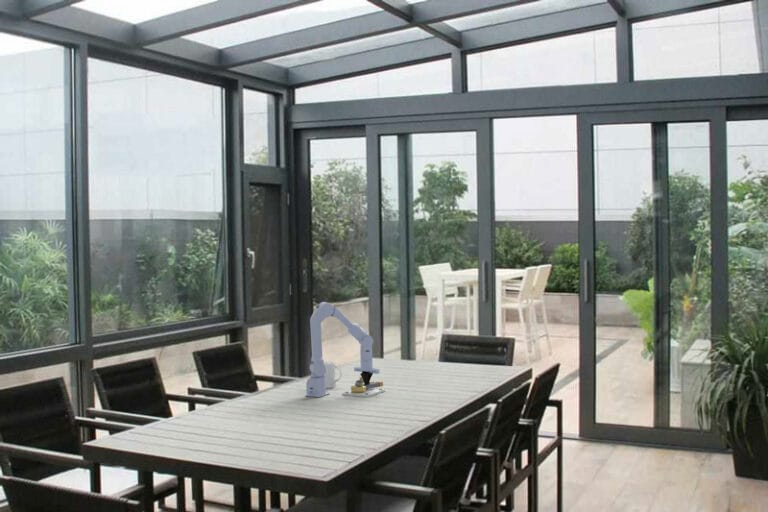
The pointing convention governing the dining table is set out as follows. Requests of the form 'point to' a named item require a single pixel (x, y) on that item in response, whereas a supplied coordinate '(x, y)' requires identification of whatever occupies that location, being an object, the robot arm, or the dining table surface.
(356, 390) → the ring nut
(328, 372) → the mug
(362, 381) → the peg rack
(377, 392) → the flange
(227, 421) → the dining table surface
